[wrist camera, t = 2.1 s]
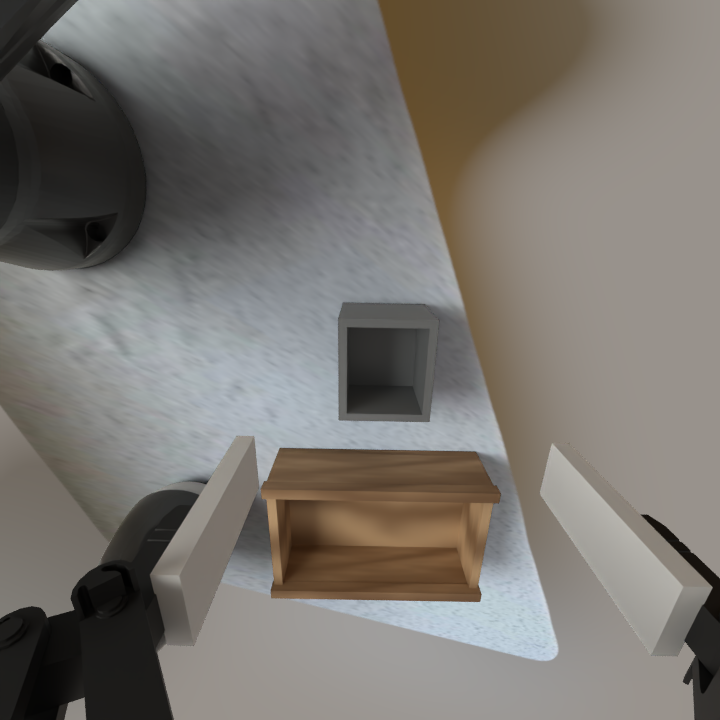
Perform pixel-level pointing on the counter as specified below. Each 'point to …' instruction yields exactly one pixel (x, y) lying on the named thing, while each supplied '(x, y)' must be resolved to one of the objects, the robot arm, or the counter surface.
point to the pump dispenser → (149, 523)
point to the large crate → (378, 524)
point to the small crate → (386, 361)
